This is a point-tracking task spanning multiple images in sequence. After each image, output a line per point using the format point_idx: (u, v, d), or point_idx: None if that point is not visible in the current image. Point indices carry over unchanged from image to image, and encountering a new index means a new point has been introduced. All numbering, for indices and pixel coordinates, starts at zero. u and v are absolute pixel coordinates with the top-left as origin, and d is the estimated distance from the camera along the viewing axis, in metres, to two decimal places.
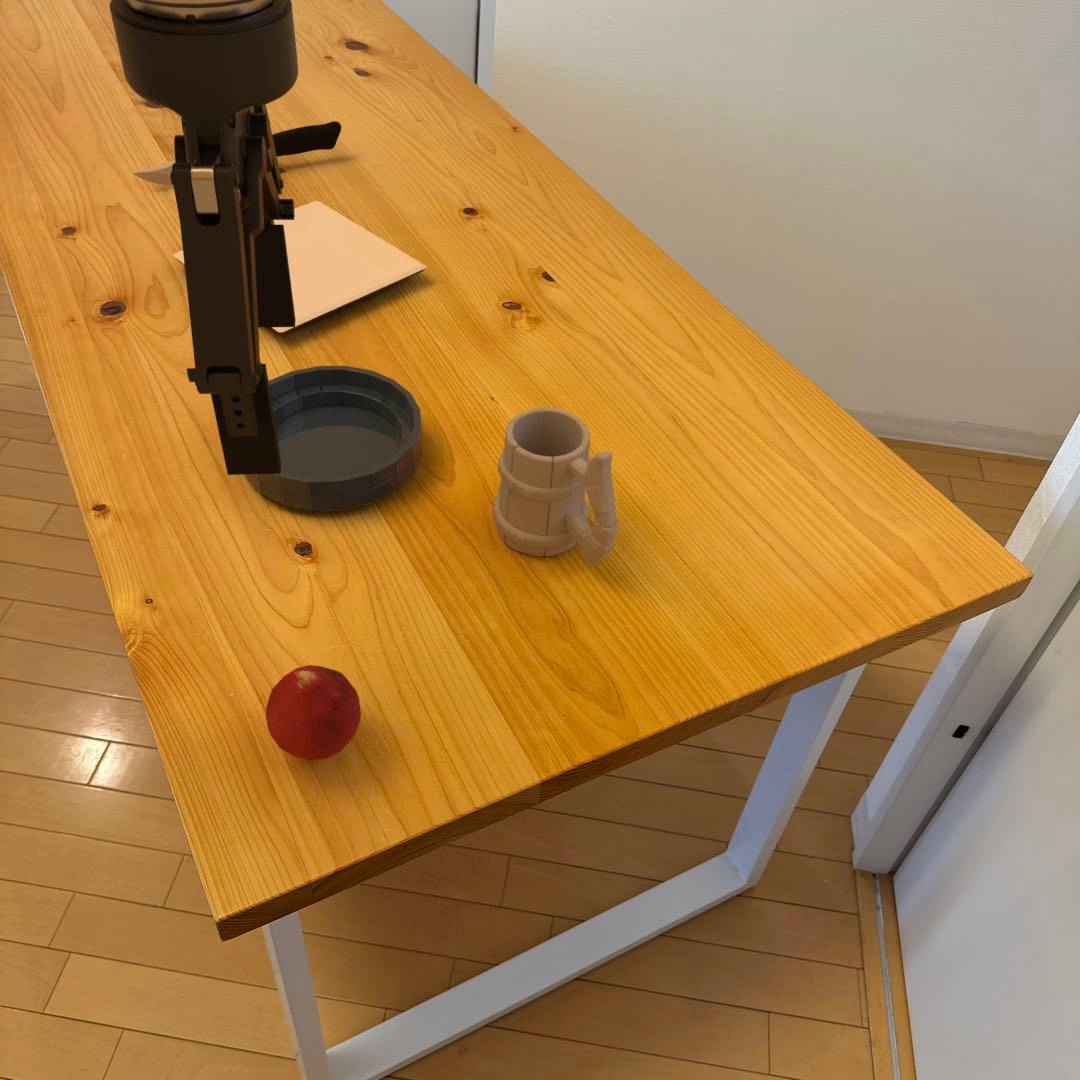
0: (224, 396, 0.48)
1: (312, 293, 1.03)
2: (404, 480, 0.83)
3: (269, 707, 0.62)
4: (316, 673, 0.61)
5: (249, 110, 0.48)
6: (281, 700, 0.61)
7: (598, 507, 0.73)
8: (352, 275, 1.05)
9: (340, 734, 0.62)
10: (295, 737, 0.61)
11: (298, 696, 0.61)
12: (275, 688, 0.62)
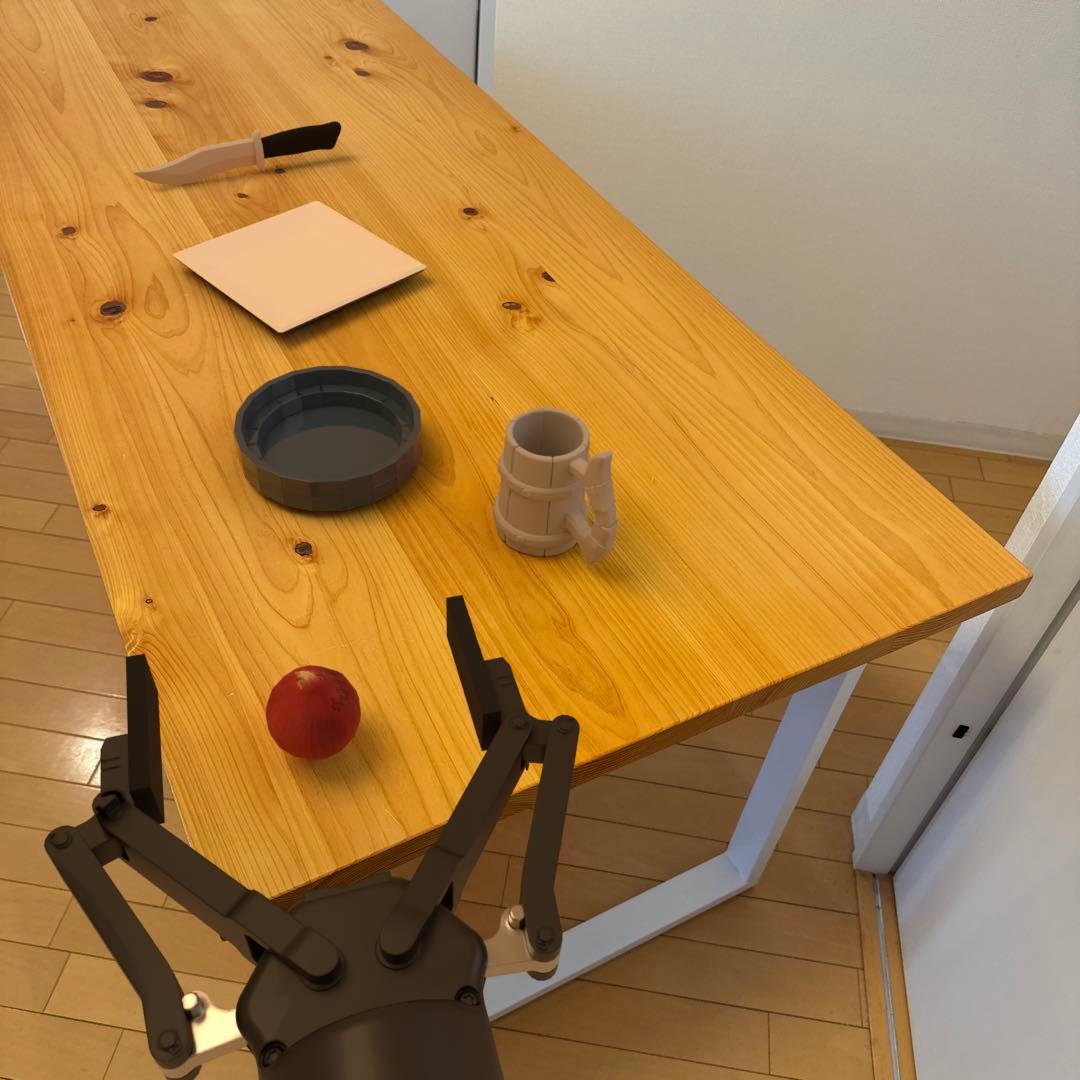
0: None
1: (312, 293, 1.03)
2: (404, 480, 0.83)
3: (269, 707, 0.62)
4: (316, 673, 0.61)
5: None
6: (281, 700, 0.61)
7: (598, 507, 0.73)
8: (352, 275, 1.05)
9: (340, 734, 0.62)
10: (295, 737, 0.61)
11: (298, 696, 0.61)
12: (275, 688, 0.62)
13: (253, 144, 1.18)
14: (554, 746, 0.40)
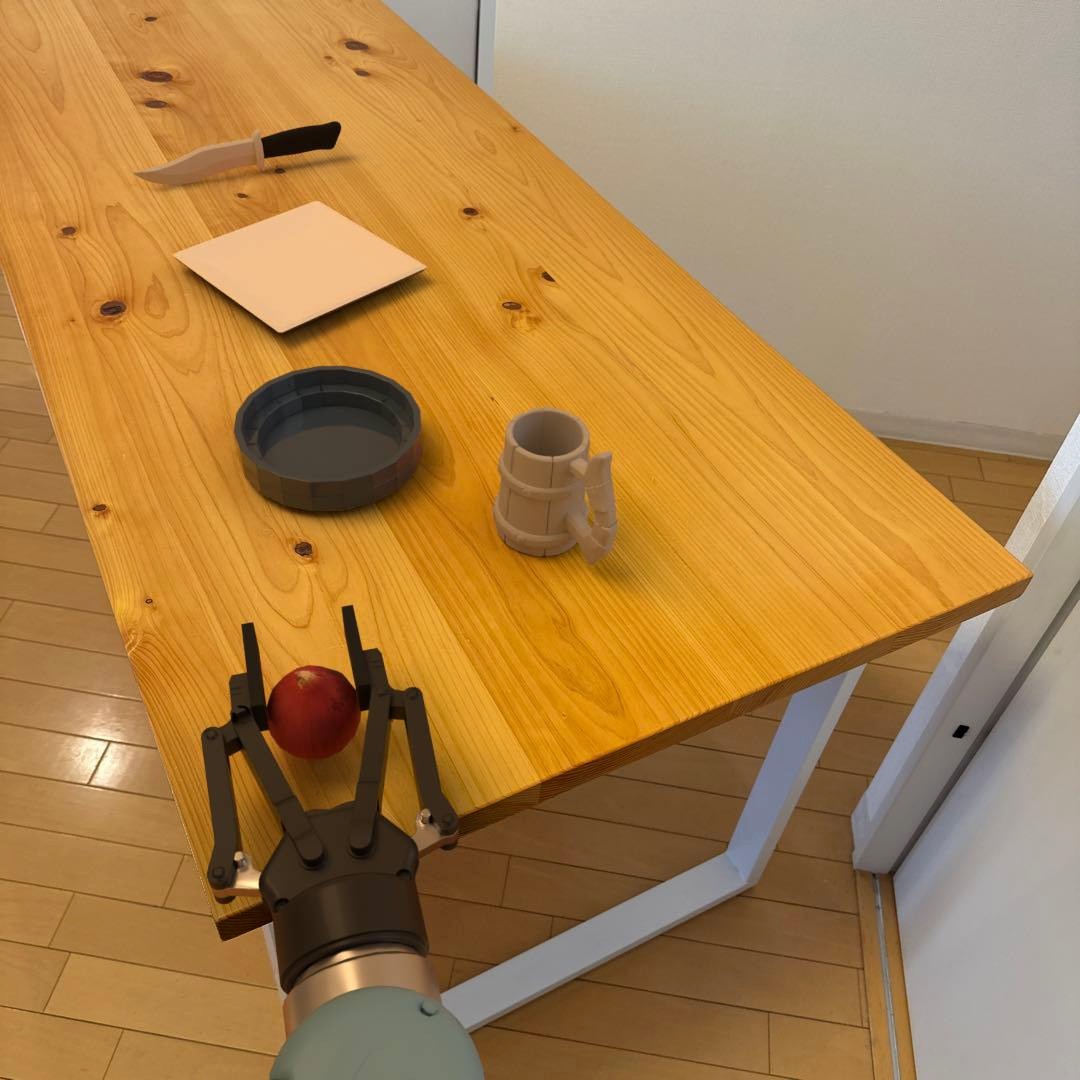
0: None
1: (312, 293, 1.03)
2: (404, 480, 0.83)
3: (269, 707, 0.62)
4: (316, 673, 0.61)
5: None
6: (282, 700, 0.61)
7: (598, 507, 0.73)
8: (352, 275, 1.05)
9: (340, 734, 0.62)
10: (295, 737, 0.61)
11: (298, 696, 0.61)
12: (275, 688, 0.62)
13: (253, 144, 1.18)
14: (410, 709, 0.60)
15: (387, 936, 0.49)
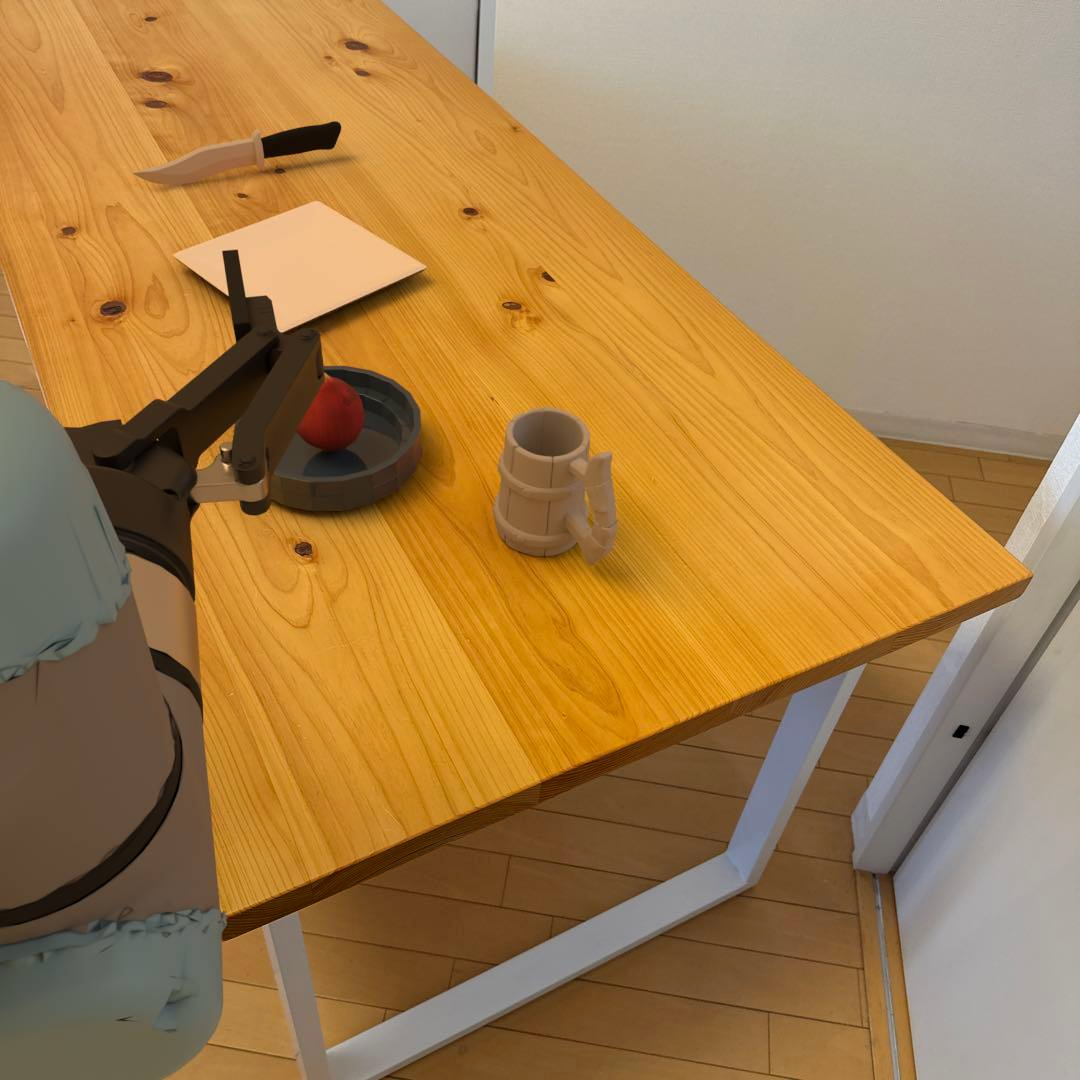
0: None
1: (312, 293, 1.03)
2: (404, 480, 0.83)
3: None
4: (330, 377, 0.81)
5: None
6: None
7: (598, 507, 0.73)
8: (352, 275, 1.05)
9: (349, 425, 0.81)
10: (314, 424, 0.81)
11: None
12: None
13: (253, 144, 1.18)
14: (292, 347, 0.44)
15: None
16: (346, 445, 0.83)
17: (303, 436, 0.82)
